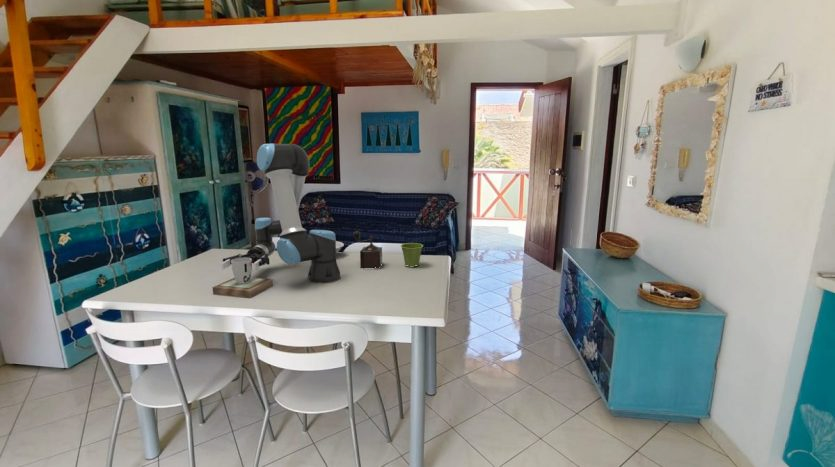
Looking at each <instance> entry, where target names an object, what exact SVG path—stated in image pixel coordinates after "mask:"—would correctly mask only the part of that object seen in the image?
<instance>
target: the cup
mask: <svg viewBox="0 0 835 467" xmlns="http://www.w3.org/2000/svg"><path fill="white" fill-rule="evenodd" d="M252 265H253V263H252V259H251V258H236V259H233V260H231V270H232V274H233V278H235V280H236V282H237V284H246V283H249V282H250V278H251V277H252V269H253V266H252Z"/></svg>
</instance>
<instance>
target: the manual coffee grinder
mask: <svg viewBox="0 0 835 467" xmlns="http://www.w3.org/2000/svg"><path fill="white" fill-rule="evenodd" d="M352 235H353V237H354V238H355V241H357V242H358V243H363V242H364V243H365V242H369V243H370V244H369V245H367V246H363V247H362V249H361V250H360V251H359V259H360V261H359V262H360V266H359V268H360V269H361V268H375V267H376V268H379V267H380V266H381V264H382V265H383V247H382V246H376V245H374V244H373V235H370V236H369V238H368V239H362V240H361V237H360V236H361V232H360V231H358V230H357V231H354V232H353V234H352ZM381 267H382V266H381Z"/></svg>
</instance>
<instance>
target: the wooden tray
mask: <svg viewBox="0 0 835 467" xmlns="http://www.w3.org/2000/svg"><path fill="white" fill-rule="evenodd" d="M273 286H274V279H272V278H263V277H261V278H260V277H252V276H251V278H250V282H249V283H246V284H237V282H236V280H235V278H234V277H233V278H231V279H229V280H226V281H224V282H222V283H219V284H217V285H215V286H212V287H211V288H212V294H213V295H217V296H227V297H236V298H237V297H238V298H245V299H246V298H248V299H252V298H254V297H255V296H257V295H260V294H261V293H262V292H264V291H266V290H268V289H270V288H271V287H273Z"/></svg>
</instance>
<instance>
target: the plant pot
mask: <svg viewBox="0 0 835 467" xmlns="http://www.w3.org/2000/svg"><path fill="white" fill-rule="evenodd" d="M400 247H401V251H402V255H403V259H404V265H408V266H415V265H419V266H420V261H421V253H422V251H423V247H424V244H422V243H419V242H418V243H417V242H406V243H402V244H401V245H400Z"/></svg>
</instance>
